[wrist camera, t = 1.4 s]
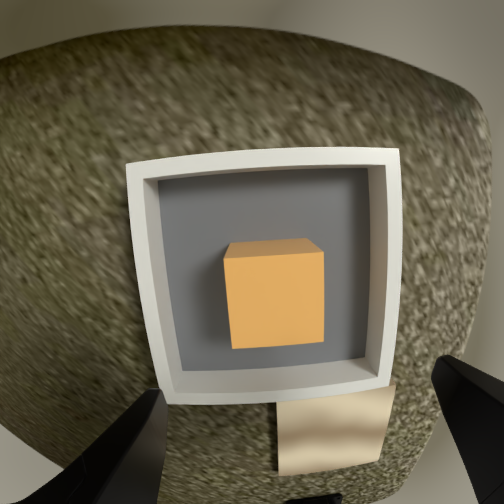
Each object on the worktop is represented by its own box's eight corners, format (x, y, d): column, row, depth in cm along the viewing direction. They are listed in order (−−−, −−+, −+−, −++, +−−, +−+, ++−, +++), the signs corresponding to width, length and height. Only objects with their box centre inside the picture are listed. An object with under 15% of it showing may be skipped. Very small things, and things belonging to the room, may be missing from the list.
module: (308, 309, 21) (323, 341, 16) (236, 314, 21) (232, 348, 16) (306, 237, 20) (323, 252, 15) (230, 242, 20) (223, 258, 16)
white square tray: (373, 362, 23) (388, 385, 19) (173, 377, 23) (163, 403, 20) (377, 154, 20) (398, 148, 16) (145, 167, 20) (126, 164, 17)
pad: (375, 454, 25) (378, 460, 24) (278, 469, 25) (279, 476, 24) (391, 378, 23) (396, 384, 22) (276, 394, 23) (276, 402, 22)
